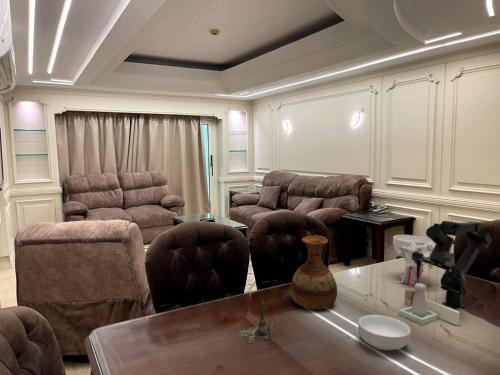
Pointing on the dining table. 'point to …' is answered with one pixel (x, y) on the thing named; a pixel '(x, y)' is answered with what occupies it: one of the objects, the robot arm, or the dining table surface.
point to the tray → (422, 321)
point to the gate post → (409, 297)
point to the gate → (443, 311)
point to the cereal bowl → (384, 332)
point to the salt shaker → (419, 301)
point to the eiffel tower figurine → (258, 329)
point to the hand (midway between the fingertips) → (428, 283)
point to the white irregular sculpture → (406, 248)
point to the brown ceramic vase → (314, 277)
